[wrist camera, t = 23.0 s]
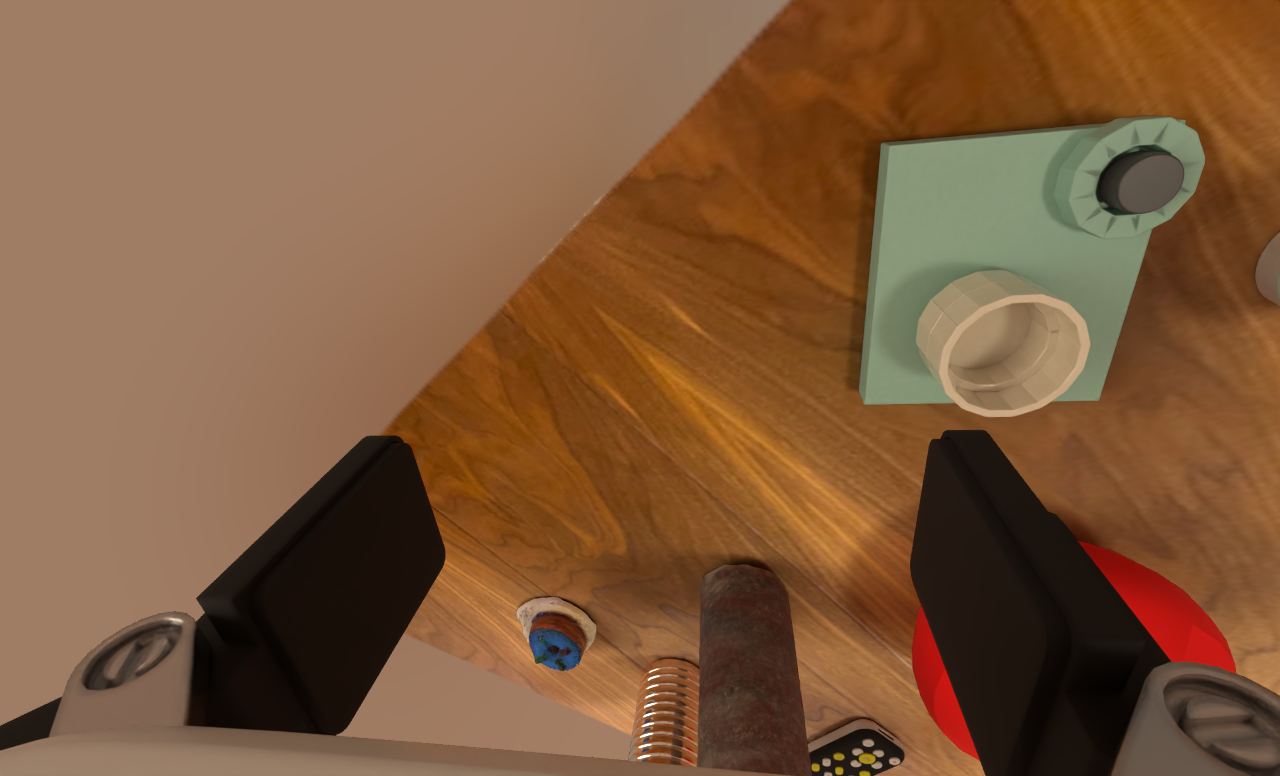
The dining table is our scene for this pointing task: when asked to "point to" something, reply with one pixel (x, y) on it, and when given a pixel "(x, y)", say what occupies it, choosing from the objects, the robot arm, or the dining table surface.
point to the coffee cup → (1269, 271)
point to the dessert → (556, 631)
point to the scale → (1009, 235)
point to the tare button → (1142, 181)
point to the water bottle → (667, 714)
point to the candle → (749, 676)
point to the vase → (1142, 589)
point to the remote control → (855, 751)
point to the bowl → (1002, 343)
